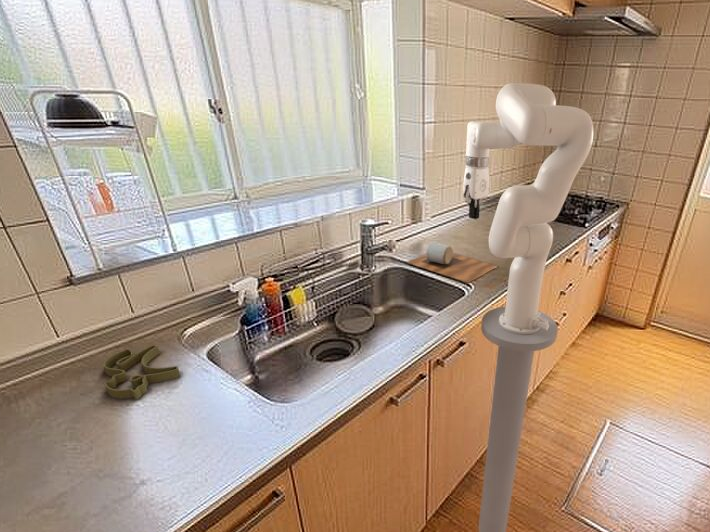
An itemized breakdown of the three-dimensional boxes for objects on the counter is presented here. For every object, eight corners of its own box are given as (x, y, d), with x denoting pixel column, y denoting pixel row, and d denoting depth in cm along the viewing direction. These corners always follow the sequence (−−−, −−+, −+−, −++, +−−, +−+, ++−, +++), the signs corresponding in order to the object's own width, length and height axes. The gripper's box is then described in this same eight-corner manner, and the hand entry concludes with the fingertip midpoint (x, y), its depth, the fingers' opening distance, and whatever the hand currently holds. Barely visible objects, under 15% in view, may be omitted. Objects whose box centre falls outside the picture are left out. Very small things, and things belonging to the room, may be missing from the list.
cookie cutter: (185, 379, 90) (183, 372, 89) (118, 407, 81) (114, 399, 80) (155, 347, 100) (153, 340, 99) (91, 369, 91) (88, 361, 90)
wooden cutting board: (497, 266, 159) (497, 266, 159) (468, 283, 144) (468, 282, 143) (438, 249, 172) (438, 249, 172) (406, 262, 157) (406, 262, 157)
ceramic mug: (444, 267, 154) (445, 247, 150) (425, 263, 157) (425, 243, 153) (457, 259, 163) (458, 240, 159) (438, 255, 165) (439, 236, 162)
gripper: (474, 165, 129) (471, 224, 137) (498, 161, 140) (494, 216, 148) (454, 163, 132) (452, 220, 140) (479, 159, 144) (476, 212, 152)
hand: (473, 217), depth 144 cm, fingers closed
